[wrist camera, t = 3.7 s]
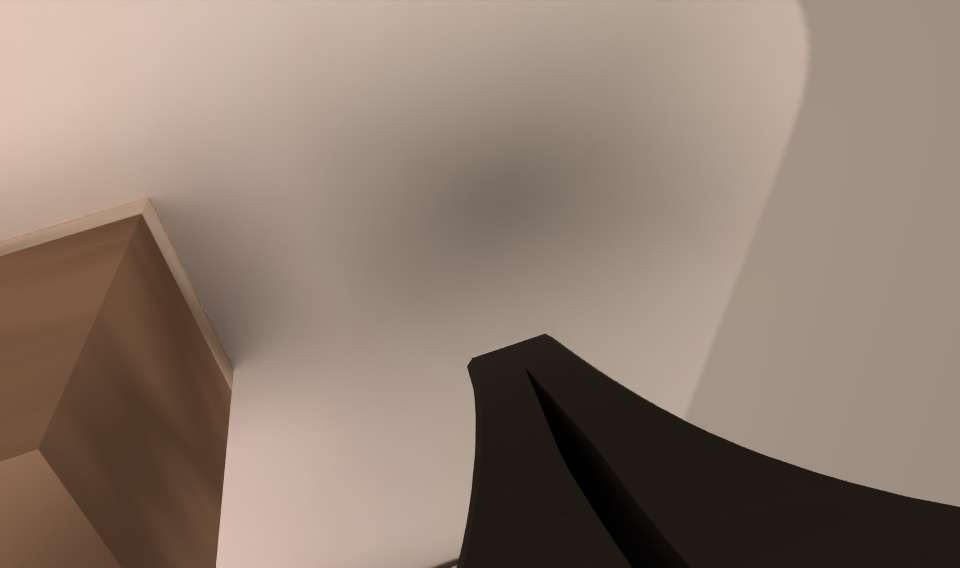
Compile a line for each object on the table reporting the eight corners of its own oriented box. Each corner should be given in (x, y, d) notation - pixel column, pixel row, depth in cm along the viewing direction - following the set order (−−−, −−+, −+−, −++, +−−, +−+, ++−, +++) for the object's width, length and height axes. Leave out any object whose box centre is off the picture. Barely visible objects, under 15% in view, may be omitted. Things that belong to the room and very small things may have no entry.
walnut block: (233, 369, 19) (204, 684, 11) (40, 433, 19) (-129, 809, 11) (148, 197, 17) (38, 449, 9) (-77, 264, 16) (-405, 596, 8)
